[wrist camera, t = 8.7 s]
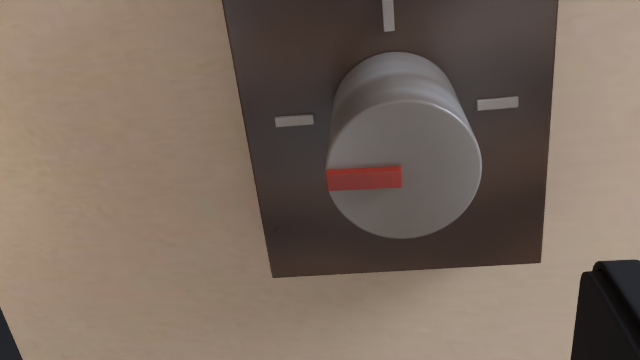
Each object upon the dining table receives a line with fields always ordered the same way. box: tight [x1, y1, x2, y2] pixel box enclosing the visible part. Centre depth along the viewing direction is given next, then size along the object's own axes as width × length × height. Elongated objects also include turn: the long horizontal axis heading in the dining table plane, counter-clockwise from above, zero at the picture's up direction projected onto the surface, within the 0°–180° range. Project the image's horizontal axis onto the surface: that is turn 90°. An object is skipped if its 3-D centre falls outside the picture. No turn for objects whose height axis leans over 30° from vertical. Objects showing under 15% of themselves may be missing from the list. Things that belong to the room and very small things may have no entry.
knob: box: [325, 52, 482, 239], centre depth 19 cm, size 4×4×5 cm
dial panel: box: [222, 0, 558, 278], centre depth 22 cm, size 14×11×3 cm
